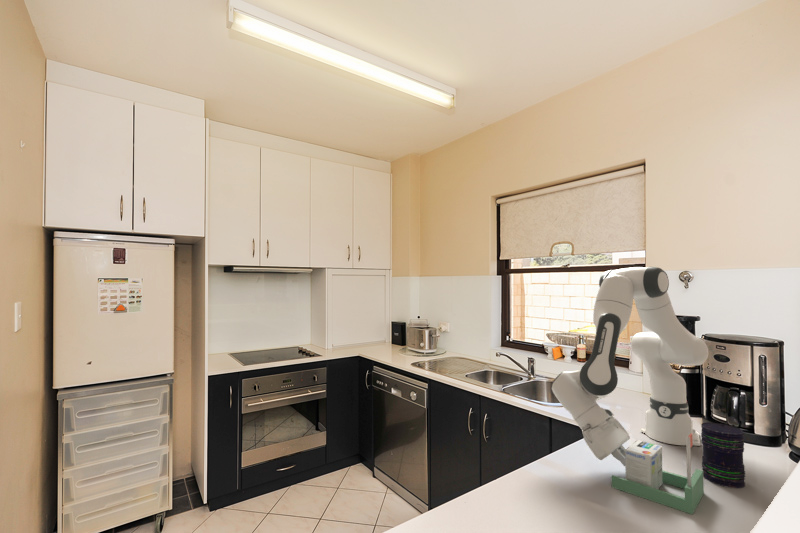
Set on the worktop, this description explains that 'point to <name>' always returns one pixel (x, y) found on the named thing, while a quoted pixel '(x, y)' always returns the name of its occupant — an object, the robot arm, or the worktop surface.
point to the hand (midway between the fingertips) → (628, 464)
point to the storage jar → (723, 455)
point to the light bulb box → (644, 464)
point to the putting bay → (690, 484)
